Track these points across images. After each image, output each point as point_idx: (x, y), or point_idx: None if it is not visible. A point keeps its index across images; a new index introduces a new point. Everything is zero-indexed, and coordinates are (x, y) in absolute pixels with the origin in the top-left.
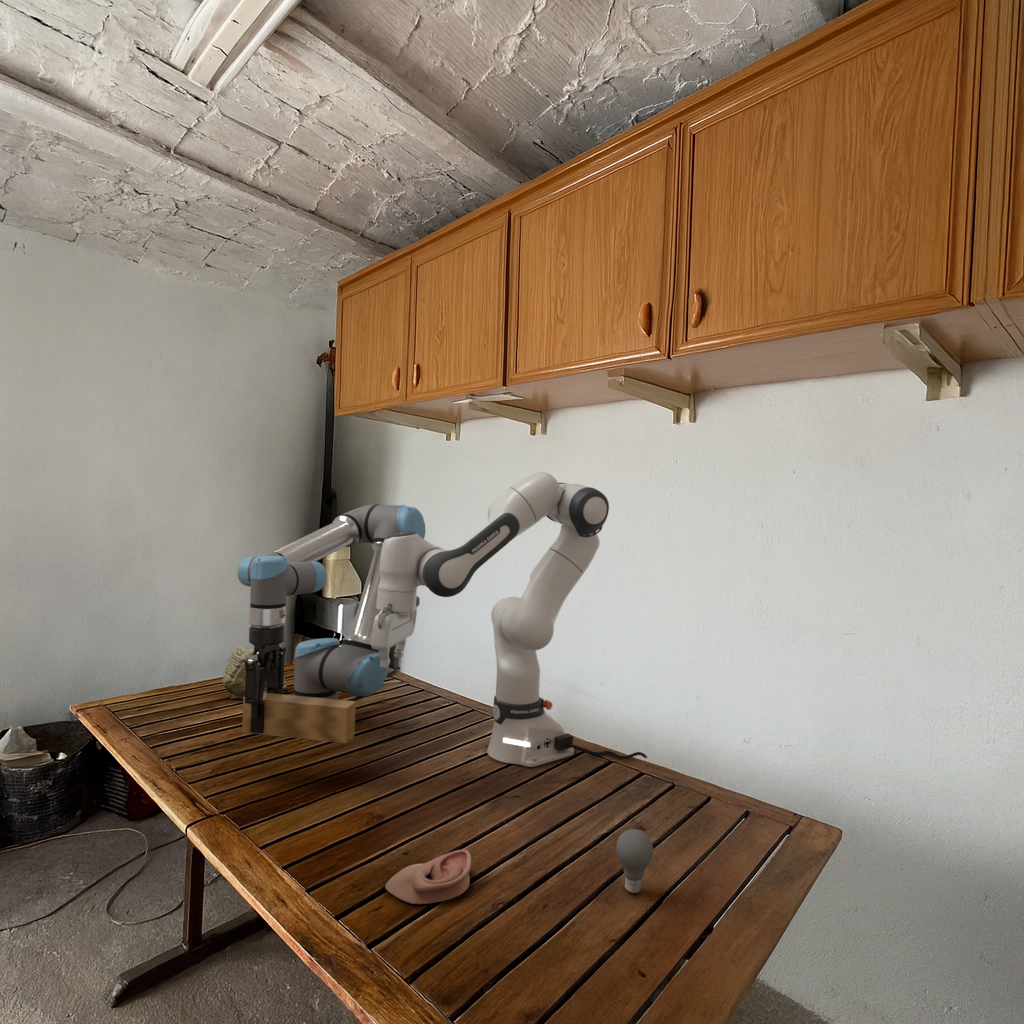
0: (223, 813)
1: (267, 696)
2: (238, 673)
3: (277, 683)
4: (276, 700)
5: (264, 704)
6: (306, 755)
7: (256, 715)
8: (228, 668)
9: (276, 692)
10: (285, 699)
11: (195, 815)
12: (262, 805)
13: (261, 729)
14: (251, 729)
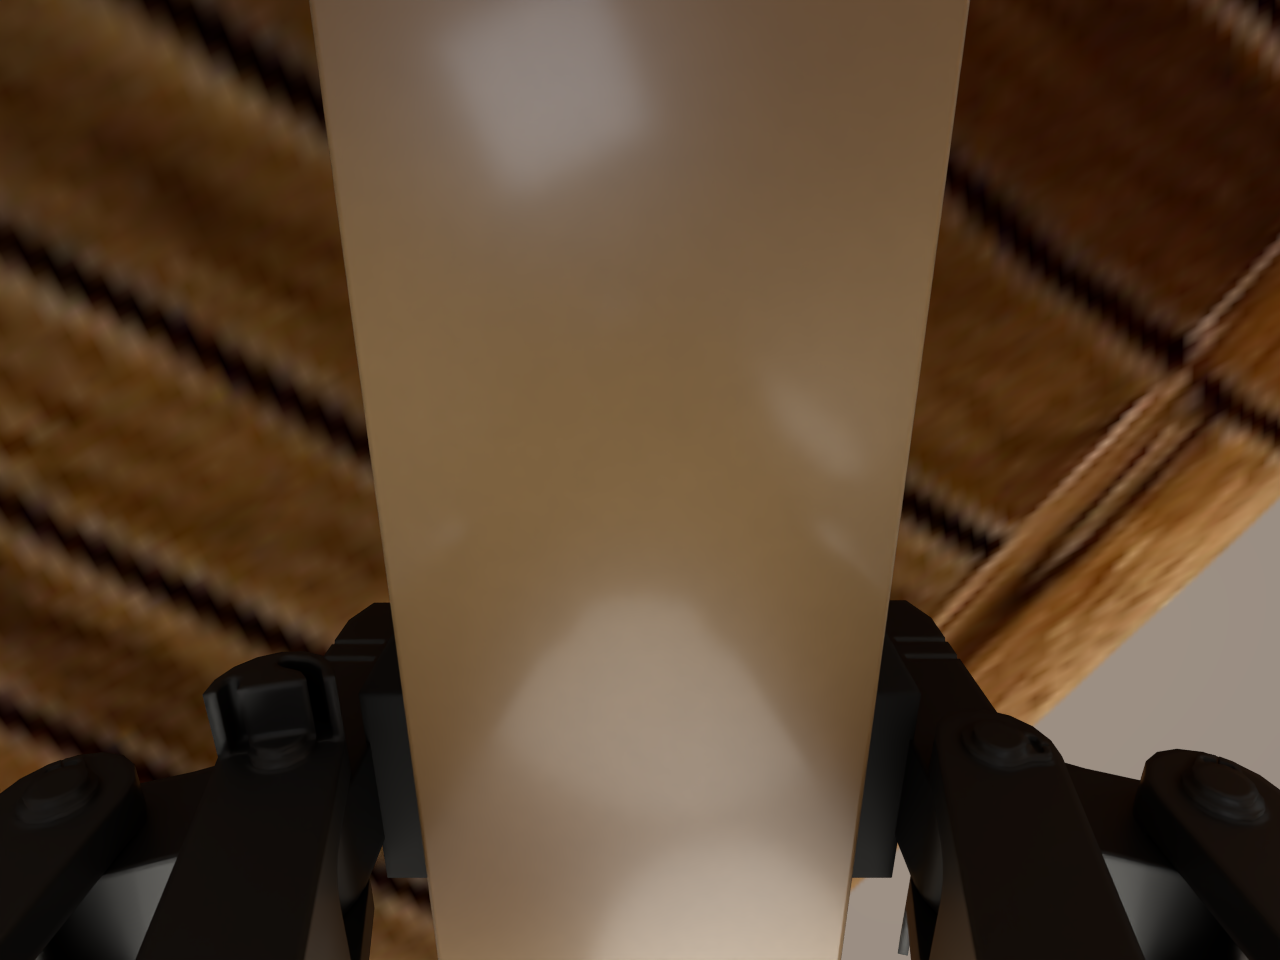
0: (1185, 344)
1: (641, 791)
2: None
3: (209, 940)
4: (872, 496)
5: None
6: (243, 265)
7: (940, 640)
8: None
9: (343, 756)
10: (739, 328)
11: (1207, 480)
12: (1074, 156)
13: None
14: None
